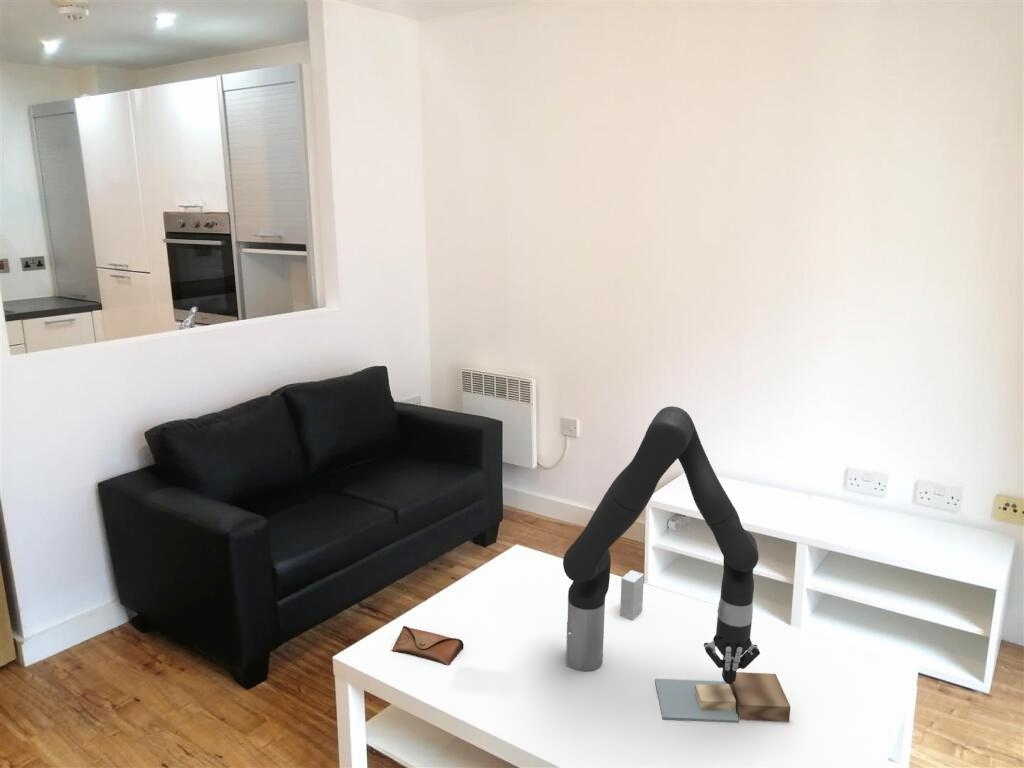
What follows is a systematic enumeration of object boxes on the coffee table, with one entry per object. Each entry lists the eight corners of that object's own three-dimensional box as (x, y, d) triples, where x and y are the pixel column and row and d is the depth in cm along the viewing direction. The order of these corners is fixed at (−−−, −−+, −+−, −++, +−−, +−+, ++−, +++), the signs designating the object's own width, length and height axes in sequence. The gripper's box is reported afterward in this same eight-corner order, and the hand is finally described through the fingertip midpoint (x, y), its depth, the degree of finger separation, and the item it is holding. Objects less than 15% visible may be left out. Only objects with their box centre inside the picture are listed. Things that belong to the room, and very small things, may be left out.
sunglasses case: (387, 651, 195) (393, 625, 197) (399, 650, 201) (404, 625, 203) (450, 666, 189) (456, 639, 191) (460, 665, 195) (465, 638, 197)
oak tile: (700, 710, 173) (701, 701, 172) (694, 693, 178) (695, 684, 178) (735, 710, 172) (736, 701, 172) (728, 693, 178) (728, 684, 178)
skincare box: (629, 606, 217) (631, 569, 214) (642, 611, 214) (644, 573, 211) (619, 616, 212) (621, 577, 209) (632, 621, 210) (634, 582, 207)
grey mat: (662, 719, 170) (662, 717, 170) (654, 680, 184) (655, 678, 184) (738, 722, 169) (738, 720, 169) (725, 683, 183) (725, 681, 183)
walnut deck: (739, 719, 170) (741, 704, 169) (728, 686, 182) (729, 671, 181) (788, 722, 170) (790, 706, 169) (774, 688, 181) (775, 673, 180)
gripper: (708, 624, 167) (702, 691, 172) (768, 626, 167) (761, 693, 171) (702, 606, 175) (696, 670, 179) (759, 608, 174) (753, 673, 178)
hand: (728, 681), depth 175 cm, fingers closed
